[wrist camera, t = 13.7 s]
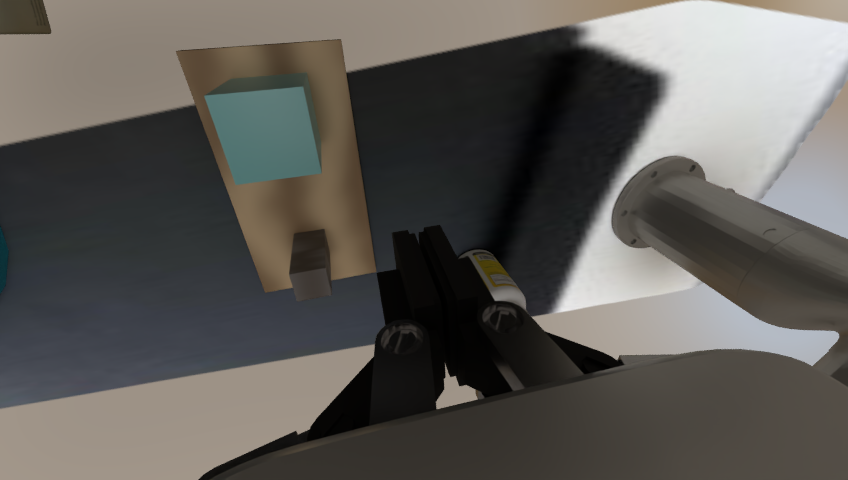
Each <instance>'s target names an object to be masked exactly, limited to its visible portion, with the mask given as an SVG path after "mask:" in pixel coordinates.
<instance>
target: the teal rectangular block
mask: <svg viewBox="0 0 848 480" xmlns="http://www.w3.org/2000/svg"><path fill="white" fill-rule="evenodd" d="M204 97H205V100H206V103H207V105H208V108H209V111H210V114H211V117H212V120H213V122H214V125H215V128H216V131H217V134H218V137H219V139H220V142H221V145H222V148H223V151H224V153H225V156H226V159H227V162H228V165H229V168H230V170H231V173H232V176H233V179H234V182H235V185H240V184H247V183H254V182H262V181H269V180H277V179H284V178H292V177H299V176H307V175H314V174H321V173H322V158H321V139H320V134H319V129H318V125H317V120H316V115H315V110H314V105H313V100H312V95H311V90H310V86H309V81H308V76H307V72H305V73H294V74H282V75H270V76H258V77H247V78H235V79H229V80H228V81H226V82H225V83H223V84H222V85H220V86H218V87H217V88H215V89H214V90H212V91H211V92H209V93H208V94H206V95H204Z"/></svg>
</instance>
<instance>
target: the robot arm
mask: <svg viewBox="0 0 848 480" xmlns="http://www.w3.org/2000/svg"><path fill="white" fill-rule="evenodd" d="M612 222H613V229H614V232H615V235H616V236H617V237H618V239H619V240H621V241H622V242H623V243H625V244H626V245H628V246H630V247H634V248H646V247H652V248H654V249H655V250H657V251H658V252H660V253H661V254H663V255H664V256H665V257H667V258H668V259H670V260H671V261H673V262H674V263H676V264H677V265H679V266H680V267H682V268H683V269H685V270H686V271H688V272H689V273H690V274H692V275H693V276H695V277H696V278H698V279H699V280H701V281H702V282H704V283H705V284H707V285H708V286H710V287H711V288H713V289H714V290H716V291H717V292H718V293H720V294H721V295H723V296H724V297H726V298H727V299H729V300H730V301H732V302H733V303H735V304H736V305H738V306H739V307H741V308H742V309H744V310H745V311H747V312H748V313H750V314H751V315H753V316H754V317H756V318H758V319H759V320H762V321H764V322H766V323H768V324H771V325H775V326H778V327H783V328H789V329H798V330H826V331H829V330H830V331H836V332H838V333H839V339H838V341H837V342H836V343H835V344H834V345H833V346H832V347H831V348H830V349H829V352H827V353H826V354H825V355H824V356H823V357H822V358H821V359H820V360H819V361H818V362H816V363H815V364H814V365H813V366H811V365H809V364H807V363H805V362H802V361H800V360H797V359H794V358H791V357H787V356H783V355H779V354H775V353H769V352H763V351H754V350H742V349H715V350H704V351H695V352H689V353H683V354H676V355H623V356H622V355H620V356H619V358H618V360H615V359H614V358H613V357H611V356H609V355H607V354H605V353H603V352H600V351H597V350H595V349H592V348H589V347H586V346H583V345H581V344H578V343H575V342H572V341H570V340H567V339H564V338H561V337H559V336H556V335H553V334H550V333H547V332H545V331H544V330H543V329H542V328H541V327H540V326H539V325H538V324H537V323H536V322H535V320H534V319H533V318H532V317H531V316H530V315H529V314H528V313H527V312H526V311H525V310H524V309H523V308H522V307H520V306H519V305H517V304H515V303H512V302H508V301H495V300H494V298H493V296H492V295H491V293H490V291H489V290H488V288H487V286H486V285H485V283H484V281H483V279H482V278H481V276H480V274H479V273H478V271H477V269H476V267H475V266H474V264H473V262H472V261H471V259H470V258H469V257H464V258H457V256H456V254H455V252H454V251H453V249H452V247H451V245H450V243H449V241H448V239H447V237H446V236H445V234H444V232H443V230H442V228H441V226H440V225H437V226H430V227H424V232H419V243H418V241H417V238H416V236H415V233H412V234H409V232H408V230H405V231H399V232H393V233H392V238H393V246H394V254H395V261H396V270H390V271H384V272H379V273H377V277H378V283H379V289H380V296H381V302H382V308H383V314H384V319H385V326H384V327H383V328H382V329H381V330H380V331H379V332H378V334H377V336H376V340H375V351H374V357H373V358H372V359H371V360H370V361H369V362H368V363H367V364H366V366H365V367H364V368H363V369H362V370H361V371H360V372H359V373H358V374H357V375H356V376H355V378H354V379H353V380H352V381H351V382H350V383H349V384H348V385H347V386H346V387H345V388H344V389H343V391H342V392H341V393H340V394H339V395H338V396H337V397H336V398H335V399H334V400H333V401H332V403H331V404H330V405H329V406H328V407H327V408H326V409H325V410H324V411H323V412H322V413H321V414H320V415H319V417H318V418H317V419H316V420H315V422H314V423H313V424H312V426H311V428H310V430H308V431H305V432H303V433H301V434H299V435H298V434H297V432H296V431H295V432H292V433H290V434H288V435H286V436H284V437H281V438H279V439H277V440H275V441H272V442H270V443H268V444H266V445H264V446H261V447H259V448H257V449H255V450H253V451H251V452H248V453H246V454H244V455H242V456H239V457H237V458H235V459H233V460H230V461H228V462H226V463H224V464H221V465H220V466H217V467H215V468H213V469H212V470H210V471H209V472H207V473H205V474H204V475H203V476H202V477H201V478H200V479H199V480H848V239H846V238H844V237H841V236H839V235H836V234H834V233H831V232H829V231H827V230H824V229H822V228H819V227H817V226H814V225H812V224H810V223H807V222H805V221H802V220H800V219H797V218H795V217H793V216H790V215H788V214H785V213H783V212H780V211H778V210H775V209H773V208H770V207H768V206H766V205H763V204H761V203H759V202H756V201H754V200H751V199H749V198H746V197H744V196H742V195H739V194H737V193H735V191H734V190H733V189H730V188H728V189H725V188H722V187H720V186H717V185H715V184H713V183H710V182H708V181H706V179H705V173H704V171H703V169H702V167H701V166H700V165H699V164H698V163H697V162H695V161H693V160H691V159H688V158H685V157H679V156H674V157H667V158H664V159H662V160H659V161H657V162H655V163H653V164H651V165H649V166H648V167H646V168H645V169H644V170H642V171H641V172H640V173H639V174H638V175H636V176H635V177H634V178H633V179H632V180H631V182H630V183H629V184H628V185H627V186H626V188H625V189H624V191H623V192H622V194H621V195H620V197H619V199H618V201H617V204H616V206H615V210H614V213H613V221H612ZM445 364H446V367H447V370H448V373H449V375H450V377H453V376H456V378H457V381H458V384H459V386H463V385H468V386H470V387H472V388H474V389H476V396H477V398H478V400H474V401H471V402H466V403H462V404H457V405H453V406H449V407H445V408H441V409H436V401H437V399H438V398H439V396H440V395H441V393H442V392H443V390H444V378H445Z"/></svg>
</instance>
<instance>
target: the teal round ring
mask: <svg viewBox="0 0 848 480" xmlns="http://www.w3.org/2000/svg"><path fill="white" fill-rule="evenodd" d="M8 253H9V251H8V248H7V245H6V242H5V238H4V235H3V232H2V229H1V226H0V293H1V292H2V290H3V288H4V287H5V285H6V275H7V264H8Z"/></svg>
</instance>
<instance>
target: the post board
mask: <svg viewBox="0 0 848 480" xmlns="http://www.w3.org/2000/svg"><path fill="white" fill-rule="evenodd" d="M176 53H177V56H178V58H179V61H180V64H181V67H182V69H183V72H184V75H185V77H186V80H187V83H188V85H189V88H190V91H191V93H192V96H193V99H194V102H195V104H196V107H197V110H198V112H199V115H200V118H201V121H202V123H203V126H204V129H205V131H206V134H207V137H208V139H209V142H210V145H211V148H212V150H213V153H214V156H215V158H216V161H217V164H218V166H219V169H220V172H221V175H222V177H223V180H224V183H225V185H226V188H227V191H228V193H229V196H230V199H231V202H232V204H233V207H234V210H235V212H236V215H237V218H238V220H239V223H240V226H241V229H242V231H243V234H244V237H245V239H246V242H247V245H248V247H249V250H250V253H251V256H252V258H253V261H254V264H255V266H256V269H257V272H258V274H259V277H260V280H261V283H262V285H263V288H264V291H265V293H266V292H271V291H276V290H282V289H287V288H292V287H293V289H294V293H295V296H296V299H297V302H298V301H303V300H309V299H314V298H319V297H324V296H329V295H332V286H331V280H335V279H341V278H346V277H351V276H357V275H362V274H367V273H373V272H376V266H375V260H374V253H373V246H372V240H371V233H370V227H369V220H368V214H367V207H366V200H365V194H364V187H363V181H362V174H361V168H360V161H359V154H358V148H357V141H356V135H355V128H354V122H353V115H352V108H351V102H350V95H349V89H348V82H347V76H346V70H345V63H344V56H343V49H342V43H341V39H337V40H322V41H309V42H294V43H280V44H265V45H252V46H238V47H223V48H208V49H194V50H181V51H176ZM305 72H307V76H308V81H309V86H310V90H311V95H312V100H313V105H314V110H315V115H316V120H317V125H318V129H319V134H320V139H321V158H322V173H321V174H314V175H307V176H299V177H292V178H284V179H277V180H269V181H262V182H254V183H247V184H240V185H235V182H234V179H233V176H232V173H231V170H230V168H229V165H228V162H227V159H226V156H225V153H224V151H223V148H222V145H221V142H220V139H219V137H218V134H217V131H216V128H215V125H214V122H213V120H212V117H211V114H210V111H209V108H208V105H207V103H206V100H205V97H204V95H206V94H208V93H209V92H211V91H212V90H214V89H215V88H217V87H218V86H220V85H222V84H223V83H225V82H226V81H228V80H229V79H235V78H247V77H258V76H270V75H282V74H294V73H305Z"/></svg>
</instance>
